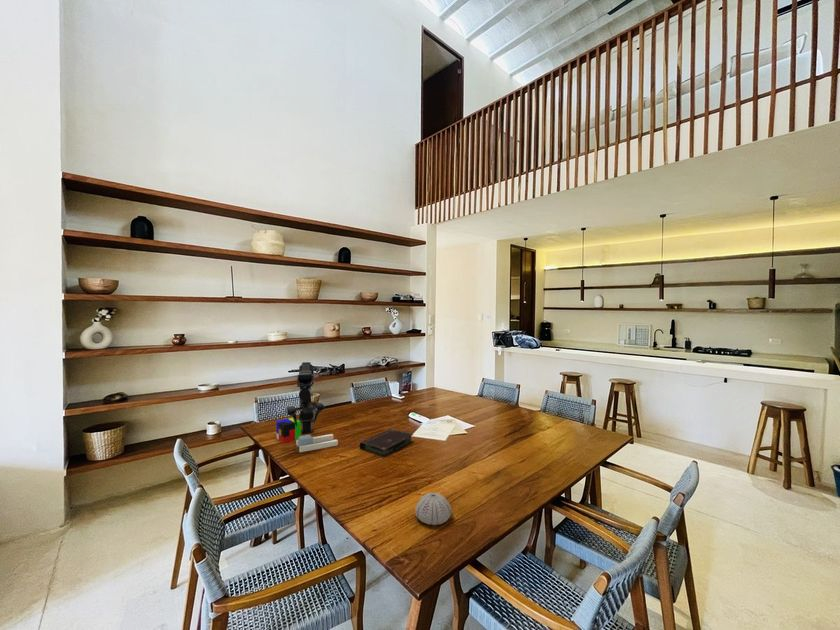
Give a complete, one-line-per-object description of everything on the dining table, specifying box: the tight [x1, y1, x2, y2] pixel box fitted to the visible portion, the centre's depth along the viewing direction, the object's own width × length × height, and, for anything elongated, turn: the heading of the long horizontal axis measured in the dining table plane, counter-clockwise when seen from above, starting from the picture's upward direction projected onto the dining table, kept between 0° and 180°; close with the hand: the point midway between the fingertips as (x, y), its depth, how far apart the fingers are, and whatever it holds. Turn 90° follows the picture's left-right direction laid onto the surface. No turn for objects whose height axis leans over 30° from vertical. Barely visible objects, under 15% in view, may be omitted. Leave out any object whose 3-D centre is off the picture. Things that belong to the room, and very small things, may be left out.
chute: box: [295, 433, 339, 453], centre depth 189 cm, size 12×20×2 cm, turn 119°
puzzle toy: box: [275, 417, 302, 444], centre depth 198 cm, size 10×10×10 cm
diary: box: [359, 428, 414, 458], centre depth 189 cm, size 19×25×5 cm
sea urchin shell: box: [414, 492, 452, 526], centre depth 125 cm, size 13×14×8 cm
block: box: [297, 434, 314, 448], centre depth 186 cm, size 6×6×6 cm
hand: (305, 424), depth 183 cm, fingers open, 9 cm apart
